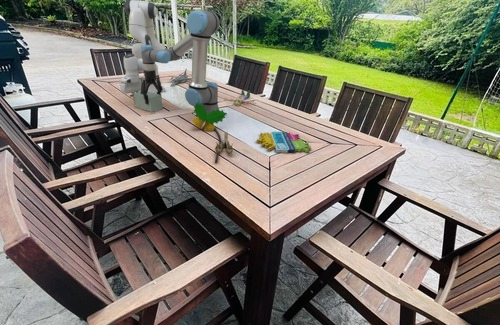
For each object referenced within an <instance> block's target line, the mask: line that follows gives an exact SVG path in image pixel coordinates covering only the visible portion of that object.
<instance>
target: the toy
mask: <svg viewBox="0 0 500 325" xmlns="http://www.w3.org/2000/svg"><path fill="white" fill-rule="evenodd" d="M240 92H241V93H240V95H238V96H237V97H235V99H233V98H230V99H228V98H227V97H226V96H225V97H224V98H223V101H224V102H233V103H232V104H233V105H235V106H242V103H243V104H247V105H252V106H255V105H256V104H257V103H256V102H254V101H253V100H252V101H251V102H250V101H248V100H246V99H248V98H250V97H251V90H250V89H249V90H248V91H247V92H246V93H245V91H244V89H242V90H241V91H240Z"/></svg>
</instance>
